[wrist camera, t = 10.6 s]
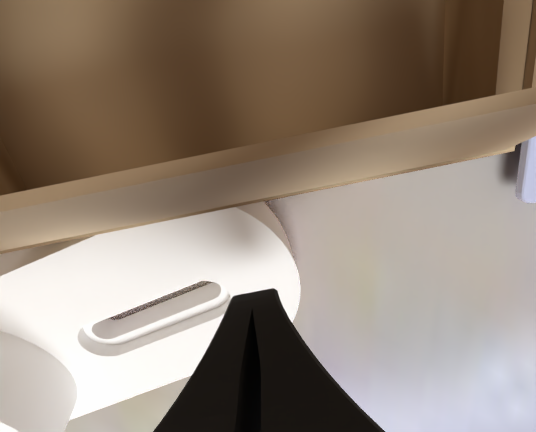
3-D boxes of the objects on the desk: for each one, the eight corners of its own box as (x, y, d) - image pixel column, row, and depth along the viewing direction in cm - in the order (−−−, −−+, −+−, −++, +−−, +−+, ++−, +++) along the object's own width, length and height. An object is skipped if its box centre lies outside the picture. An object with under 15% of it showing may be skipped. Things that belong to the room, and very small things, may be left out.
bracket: (-1, 410, 19) (-101, 578, 13) (-157, 322, 14) (-416, 520, 8) (312, 291, 17) (358, 426, 11) (246, 146, 12) (266, 247, 6)
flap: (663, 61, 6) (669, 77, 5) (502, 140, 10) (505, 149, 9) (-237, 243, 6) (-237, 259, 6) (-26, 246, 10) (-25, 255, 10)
